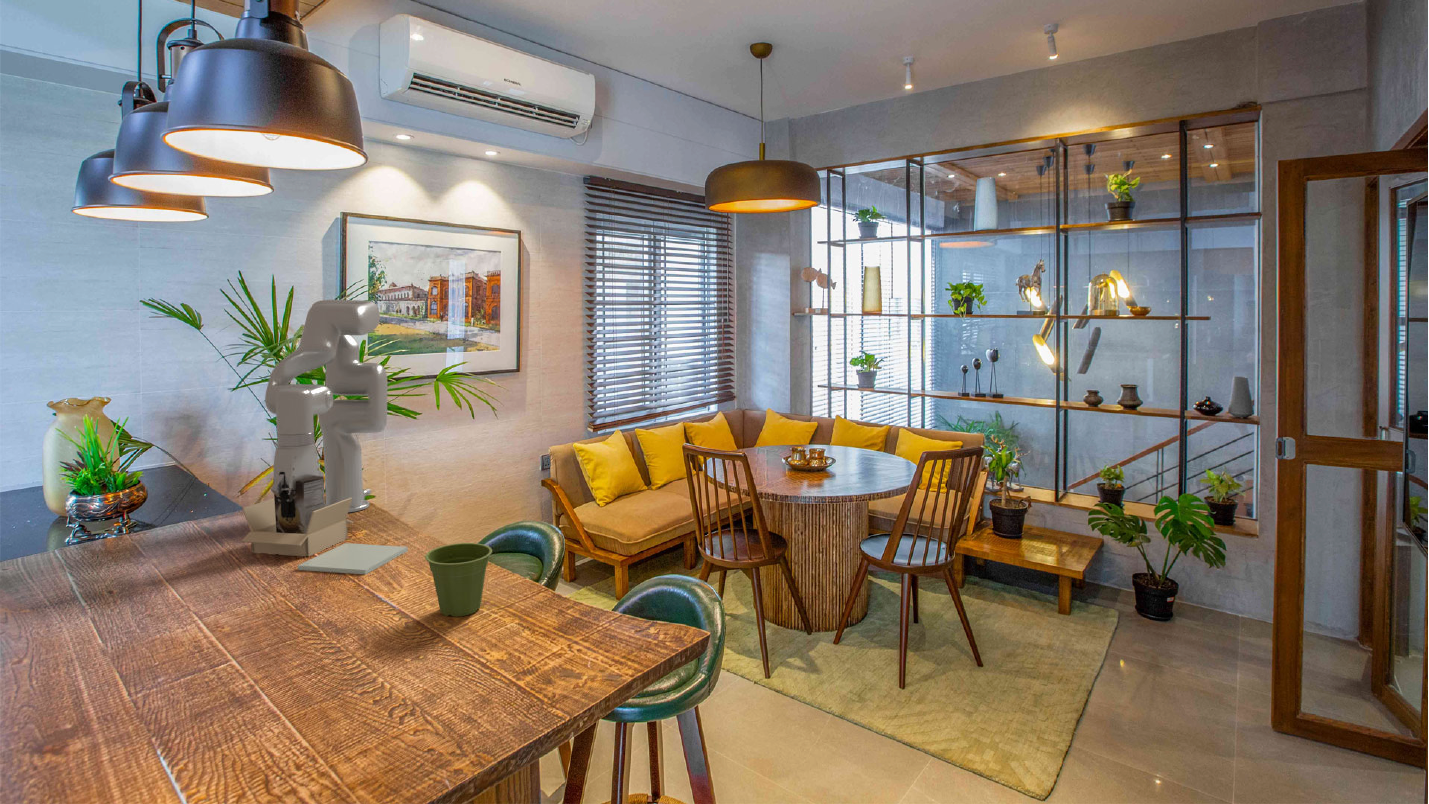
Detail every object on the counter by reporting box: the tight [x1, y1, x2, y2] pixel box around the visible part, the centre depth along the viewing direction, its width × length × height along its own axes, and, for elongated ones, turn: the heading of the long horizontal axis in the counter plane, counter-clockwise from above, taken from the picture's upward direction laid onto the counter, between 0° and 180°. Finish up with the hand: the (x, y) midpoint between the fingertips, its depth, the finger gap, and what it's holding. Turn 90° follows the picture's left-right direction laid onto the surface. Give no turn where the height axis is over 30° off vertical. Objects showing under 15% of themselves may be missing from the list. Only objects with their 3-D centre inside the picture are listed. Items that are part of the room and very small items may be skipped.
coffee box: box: [272, 475, 325, 534], centre depth 167 cm, size 9×6×16 cm
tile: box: [297, 542, 409, 576], centre depth 158 cm, size 16×16×1 cm
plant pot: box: [424, 542, 493, 618], centre depth 131 cm, size 12×12×11 cm
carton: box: [241, 497, 354, 557], centre depth 167 cm, size 19×18×11 cm
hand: (300, 512), depth 167 cm, fingers closed on coffee box, 7 cm apart
